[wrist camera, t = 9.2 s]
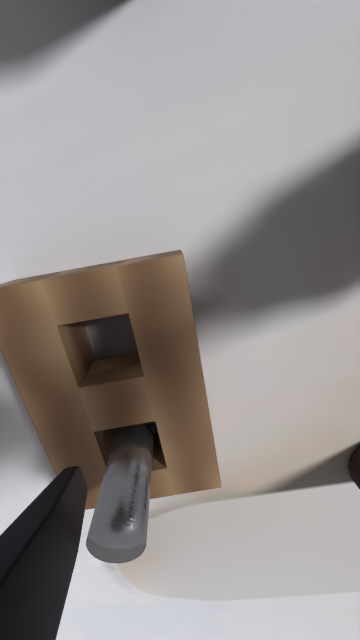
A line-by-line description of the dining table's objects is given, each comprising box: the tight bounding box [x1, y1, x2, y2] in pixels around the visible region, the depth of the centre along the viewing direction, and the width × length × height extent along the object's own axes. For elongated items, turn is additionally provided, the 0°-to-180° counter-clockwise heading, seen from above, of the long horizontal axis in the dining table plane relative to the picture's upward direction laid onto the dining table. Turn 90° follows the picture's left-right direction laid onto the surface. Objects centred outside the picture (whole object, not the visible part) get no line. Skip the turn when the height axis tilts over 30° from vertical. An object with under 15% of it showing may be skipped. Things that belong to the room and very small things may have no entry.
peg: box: [86, 421, 155, 563], centre depth 18 cm, size 3×3×10 cm
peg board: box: [0, 250, 221, 510], centre depth 19 cm, size 12×18×4 cm, turn 10°
